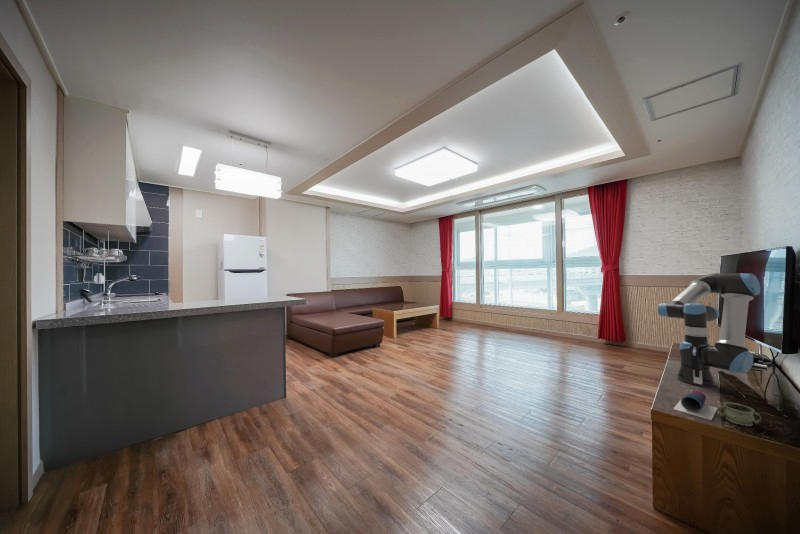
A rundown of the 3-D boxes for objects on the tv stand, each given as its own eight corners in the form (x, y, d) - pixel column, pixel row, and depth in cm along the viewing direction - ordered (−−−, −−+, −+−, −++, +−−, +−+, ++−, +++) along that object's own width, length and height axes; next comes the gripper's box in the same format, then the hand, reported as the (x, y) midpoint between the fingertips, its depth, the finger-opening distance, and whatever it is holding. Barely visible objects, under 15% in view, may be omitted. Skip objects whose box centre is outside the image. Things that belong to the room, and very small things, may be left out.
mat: (681, 399, 139) (681, 398, 139) (717, 408, 129) (717, 408, 129) (673, 409, 130) (673, 408, 130) (711, 420, 120) (711, 419, 120)
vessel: (720, 421, 120) (719, 406, 120) (716, 412, 126) (715, 399, 126) (765, 431, 112) (764, 415, 112) (758, 421, 118) (757, 406, 118)
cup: (685, 388, 139) (677, 396, 131) (704, 388, 134) (697, 396, 125) (692, 403, 137) (684, 411, 129) (711, 404, 132) (705, 412, 123)
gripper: (687, 331, 143) (689, 377, 142) (681, 335, 135) (684, 384, 135) (709, 334, 136) (711, 382, 136) (704, 338, 129) (706, 389, 129)
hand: (698, 383), depth 135 cm, fingers closed
